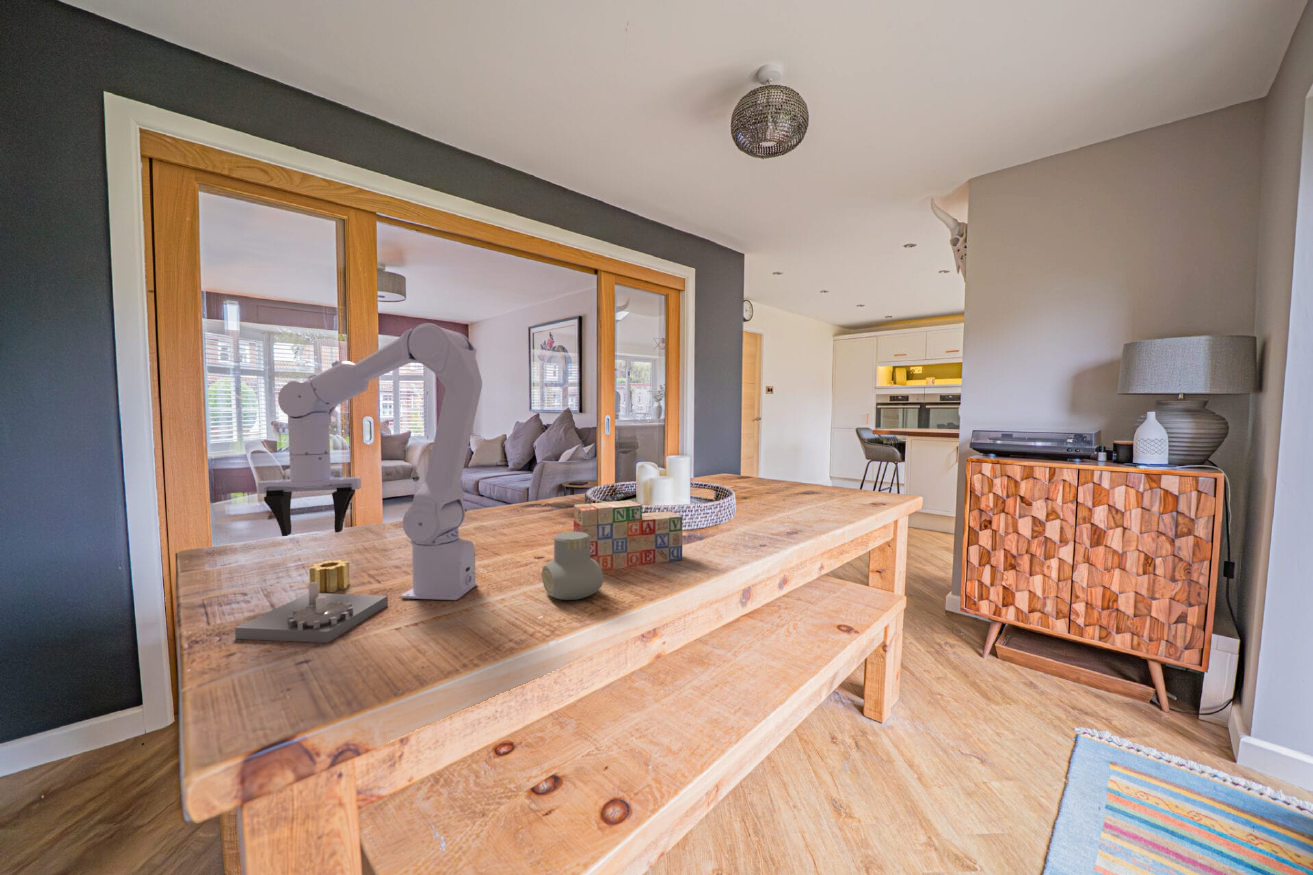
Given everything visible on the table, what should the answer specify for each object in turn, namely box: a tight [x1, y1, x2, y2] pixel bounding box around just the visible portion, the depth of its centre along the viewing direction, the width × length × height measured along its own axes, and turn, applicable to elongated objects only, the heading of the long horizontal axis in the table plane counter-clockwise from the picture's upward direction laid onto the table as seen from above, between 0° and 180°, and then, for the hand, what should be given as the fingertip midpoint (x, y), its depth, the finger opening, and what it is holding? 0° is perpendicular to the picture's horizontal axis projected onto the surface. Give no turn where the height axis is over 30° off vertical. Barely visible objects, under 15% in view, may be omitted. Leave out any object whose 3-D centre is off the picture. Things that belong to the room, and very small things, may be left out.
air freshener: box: [541, 531, 604, 601], centre depth 85 cm, size 11×8×10 cm
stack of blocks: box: [573, 500, 684, 571], centre depth 103 cm, size 21×6×12 cm, turn 113°
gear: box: [287, 601, 353, 631], centre depth 70 cm, size 8×8×1 cm
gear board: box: [234, 582, 389, 644], centre depth 73 cm, size 13×13×4 cm
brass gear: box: [308, 559, 351, 594], centre depth 87 cm, size 6×6×4 cm
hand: (313, 533), depth 87 cm, fingers open, 7 cm apart
